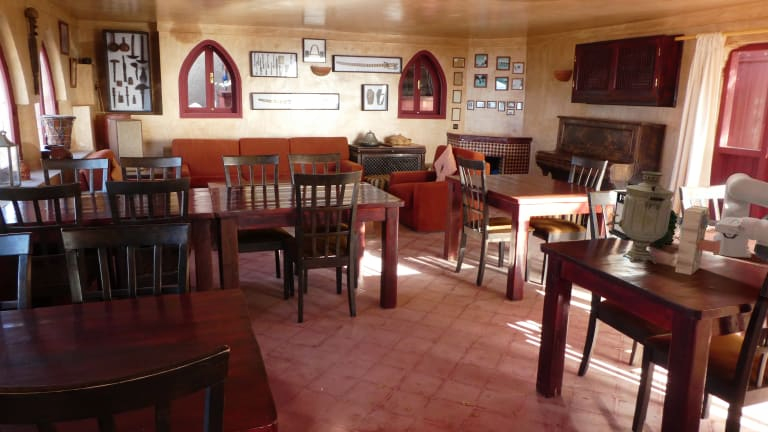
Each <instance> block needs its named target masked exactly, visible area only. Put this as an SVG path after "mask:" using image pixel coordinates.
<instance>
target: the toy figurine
mask: <svg viewBox="0 0 768 432" xmlns="http://www.w3.org/2000/svg"><path fill="white" fill-rule="evenodd" d="M675 213H676V212H675V210H674V209H671V213H670V218H669V224H668V230H667V233H666V234H665V235H664V236H663V237H662V238H660V239H658V240H656V241H652V245H653V247H654V248H658V249H660V248H662V247H663V245H665V246H666V247H669V246H672V245H673V242H674V241H675V238H673V237H674V236H675V235H676V232H675V230H676V229H677V228H678V226H677V224H676V223H677V221H676V218H677V216H676V215H675ZM675 224H676V225H675Z"/></svg>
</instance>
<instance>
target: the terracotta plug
mask: <svg viewBox="0 0 768 432" xmlns="http://www.w3.org/2000/svg"><path fill="white" fill-rule="evenodd" d="M720 245H721V240H717V241H713V240H709V239H700V240H699V244H698V250H703V251H704V252H709V253H713V254H712V255H714V256H717V255H719V254H718V253H719V251H720ZM703 251H702V252H703Z"/></svg>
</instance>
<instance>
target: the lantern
mask: <svg viewBox="0 0 768 432" xmlns="http://www.w3.org/2000/svg"><path fill="white" fill-rule="evenodd" d="M640 174H643V173H642V172H639V173H635V174H634V175H633V176H632V178H634V177H635V176H638V175H640ZM632 178H630V179H629V181H628V182H626V183H627V186H630V185H638V184H639V183H640V182H631V181H632ZM613 192H615V193H616V199H615V208H614V213H616V214H618V215H619V216H615V222H619V221H620V220H621V218H622V212H623V205H624V199H625V196H626V195H627V191H626V190H625V191H623V190H619V191H618V190H614V191H613ZM608 233H609V234H611V235H613V236H615V237H618V238H619V239H621V240H623V241H633V239H631V238H629V237H628V236H627V235H626V234H625V233H624V232H623V231H622V229H621V227H619V224H614V225H613V226H612V230H610V229H609V230H608Z"/></svg>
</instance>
